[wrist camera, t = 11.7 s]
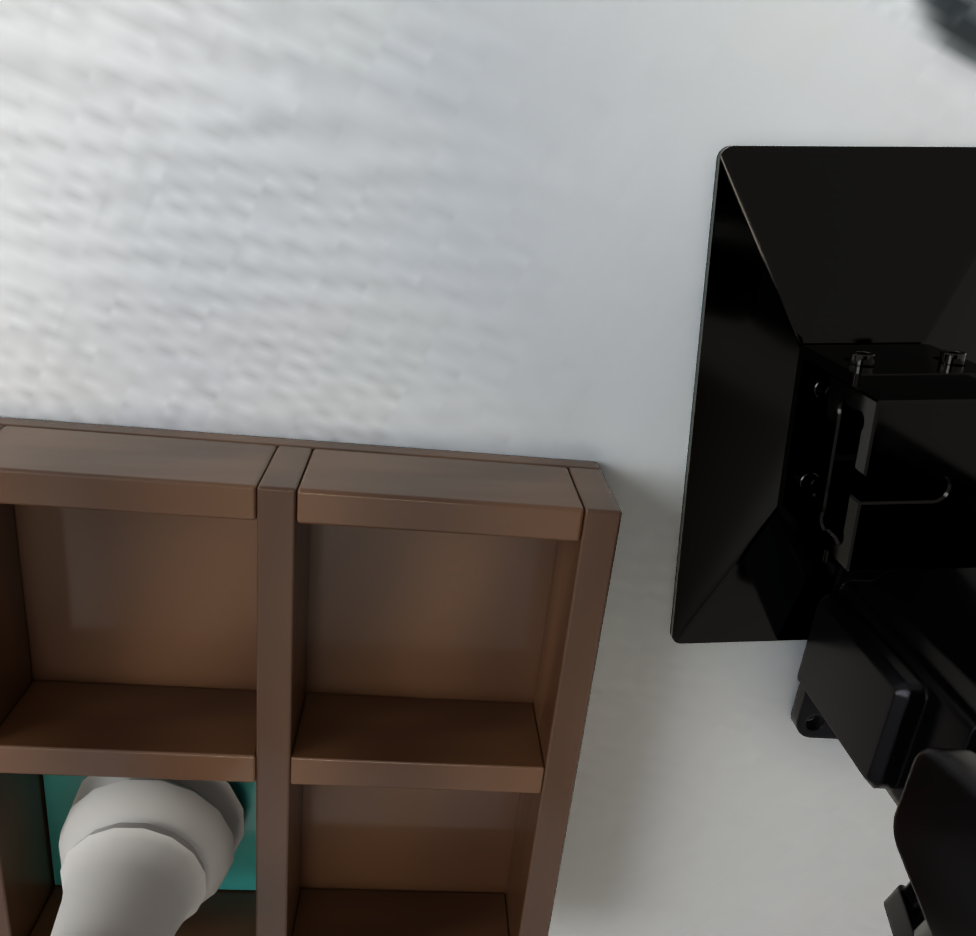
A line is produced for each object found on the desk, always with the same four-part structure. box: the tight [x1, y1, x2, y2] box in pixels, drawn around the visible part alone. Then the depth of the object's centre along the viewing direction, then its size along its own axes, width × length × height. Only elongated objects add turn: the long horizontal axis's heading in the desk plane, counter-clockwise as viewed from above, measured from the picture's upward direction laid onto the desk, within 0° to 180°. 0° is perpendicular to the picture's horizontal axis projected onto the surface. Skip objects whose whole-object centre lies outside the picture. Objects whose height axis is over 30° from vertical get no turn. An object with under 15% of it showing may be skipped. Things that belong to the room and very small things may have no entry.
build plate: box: [670, 146, 976, 643], centre depth 18 cm, size 12×7×5 cm, turn 0°
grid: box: [0, 417, 622, 936], centre depth 21 cm, size 14×14×3 cm
